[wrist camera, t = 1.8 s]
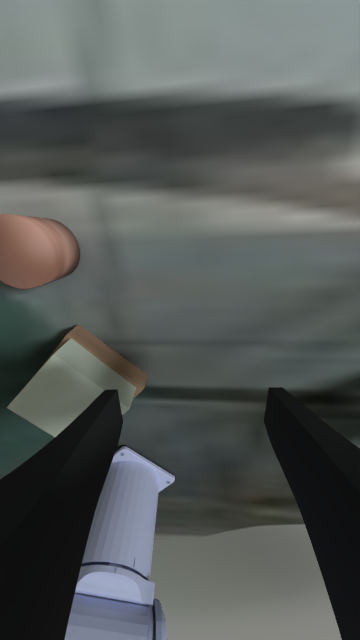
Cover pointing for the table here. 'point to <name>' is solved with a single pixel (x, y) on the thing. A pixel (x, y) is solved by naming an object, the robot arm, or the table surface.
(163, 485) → the robot arm
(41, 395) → the sage top slab
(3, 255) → the salmon pink cylinder
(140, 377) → the walnut base slab
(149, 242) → the table surface
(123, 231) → the table surface
